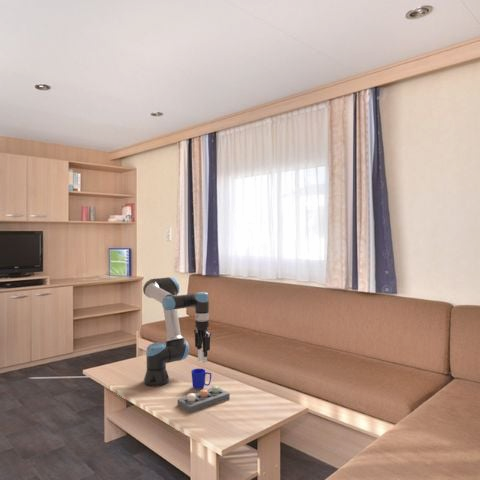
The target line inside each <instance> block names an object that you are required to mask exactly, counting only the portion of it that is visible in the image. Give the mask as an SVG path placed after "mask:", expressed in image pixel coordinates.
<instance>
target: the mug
mask: <svg viewBox="0 0 480 480" xmlns="http://www.w3.org/2000/svg"><path fill="white" fill-rule="evenodd" d="M190 373H191V382H192V384H191V385H192V387H193V389H196V390H202V389H204V388H205V386H210V384H211V380H212V372H209V371H206V369H205V368H194V369H191V372H190ZM206 375H209V381H208V383H206Z"/></svg>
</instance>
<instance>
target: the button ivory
mask: <svg viewBox="0 0 480 480" xmlns="http://www.w3.org/2000/svg"><path fill="white" fill-rule="evenodd" d="M186 395H187V396H186V397H187V401H188V402H195V401H196V393H192V392H191V393H190V392H189V393H188V394H186Z"/></svg>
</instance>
